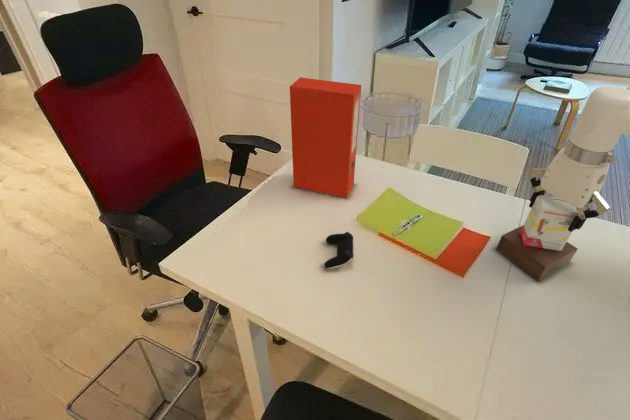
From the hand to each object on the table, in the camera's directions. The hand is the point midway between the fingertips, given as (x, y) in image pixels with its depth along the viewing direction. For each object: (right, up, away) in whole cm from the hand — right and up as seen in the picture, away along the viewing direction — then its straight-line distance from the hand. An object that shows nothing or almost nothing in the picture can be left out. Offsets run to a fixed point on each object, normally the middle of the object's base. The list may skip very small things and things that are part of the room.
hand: (552, 216), depth 85 cm
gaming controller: (-48, -10, +9) cm, 50 cm away
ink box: (0, -6, +5) cm, 8 cm away
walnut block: (0, -10, +8) cm, 13 cm away
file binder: (-52, +9, +32) cm, 62 cm away
